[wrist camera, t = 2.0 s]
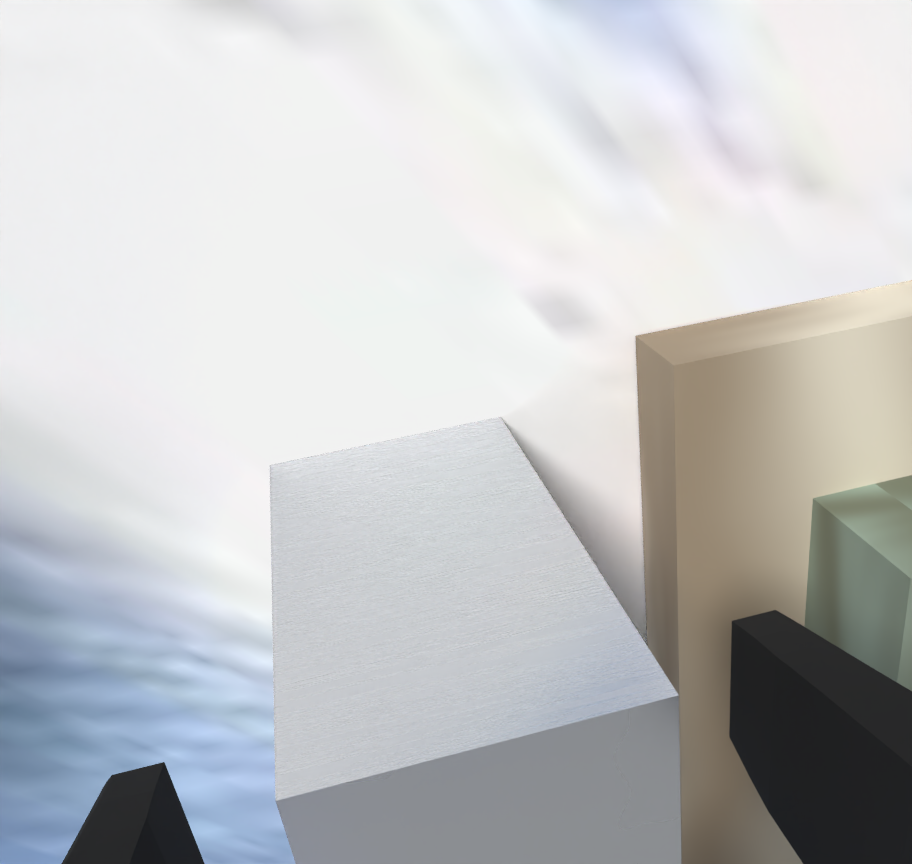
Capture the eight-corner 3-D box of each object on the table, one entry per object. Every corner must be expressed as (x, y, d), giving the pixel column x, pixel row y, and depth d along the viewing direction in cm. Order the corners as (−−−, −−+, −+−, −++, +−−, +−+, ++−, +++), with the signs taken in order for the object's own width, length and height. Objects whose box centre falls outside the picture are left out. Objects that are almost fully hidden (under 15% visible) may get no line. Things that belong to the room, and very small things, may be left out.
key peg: (317, 650, 16) (354, 1045, 10) (269, 464, 14) (275, 800, 8) (521, 601, 16) (682, 945, 10) (500, 416, 15) (679, 695, 8)
